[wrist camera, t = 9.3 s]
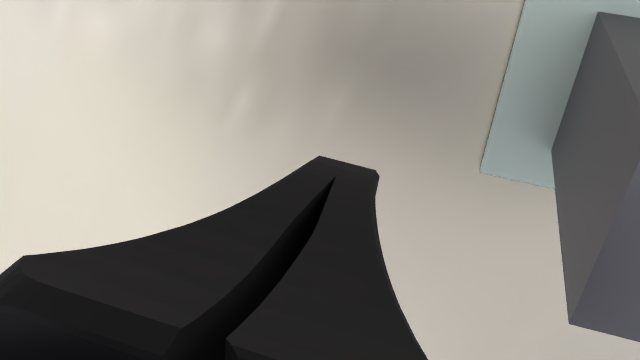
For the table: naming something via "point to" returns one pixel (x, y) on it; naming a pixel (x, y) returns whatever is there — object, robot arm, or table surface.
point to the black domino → (602, 181)
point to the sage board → (541, 85)
